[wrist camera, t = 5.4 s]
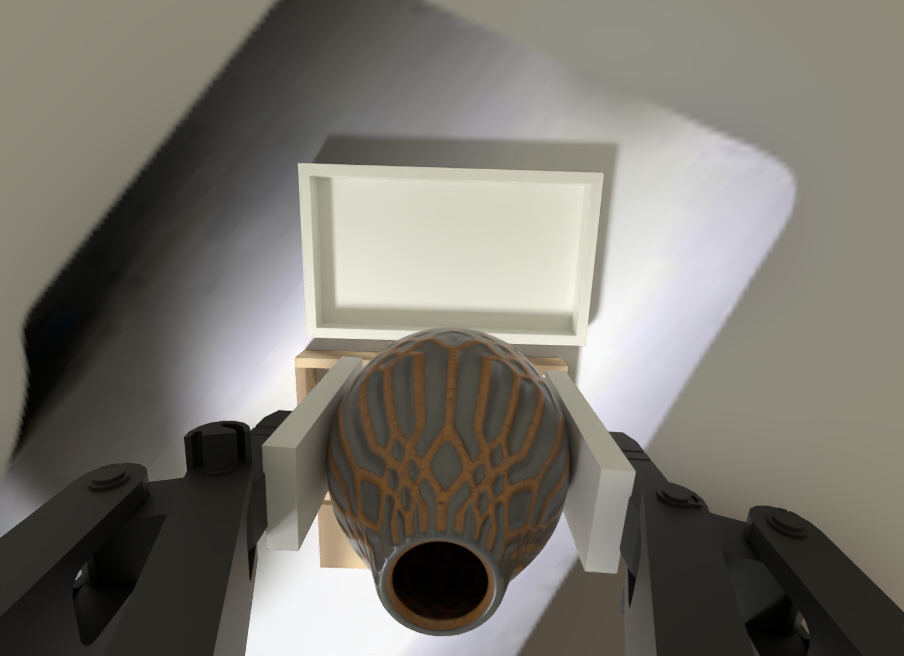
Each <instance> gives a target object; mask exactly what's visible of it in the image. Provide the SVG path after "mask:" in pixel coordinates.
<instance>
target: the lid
mask: <svg viewBox="0 0 904 656" xmlns="http://www.w3.org/2000/svg"><path fill="white" fill-rule="evenodd" d="M318 525H319V546H320V566H321V567H327V568H359V569H369V568H368V567H367V566H366V565H365V563H364V562H363V561H362V560H361V558H360V557H359V556H358V555H357V553H356V552H355V551H354V549H353V548H352V547H351V545H350V544H349V542H348V541H347V539H346V538H345V536H344V534H343V532H342V530H341V528H340V526H339V524H338V521H337V519H336V517H335V514H334V511H333V507H332V504H331V500H324V501H323V503H322V505H321V507H320V509H319V511H318Z"/></svg>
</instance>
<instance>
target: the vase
mask: <svg viewBox="0 0 904 656" xmlns="http://www.w3.org/2000/svg"><path fill="white" fill-rule="evenodd" d="M569 475H570V447H569V439H568V433H567V428H566V424H565V420H564V417H563V414H562V412H561V409H560V407H559V404H558V402H557V400H556V398H555V396H554V394H553V392H552V390H551V388H550V387H549V385H548V384H547V382H546V380H545V379H544V377H543V376H542V375H541V373H540V372H539V371H538V370H537V369H536V367H535V366H534V365H533V364H532V363H531V362H530V361H529V360H528V359H527V358H526V357H525V356H524V355H523V354H522V353H521V352H519V351H518V350H517V349H515V348H514V347H513V346H511V345H510V344H508V343H506V342H504V341H503V340H501V339H498V338H496V337H494V336H492V335H489V334H487V333H484V332H481V331H477V330H473V329H468V328H460V327H441V328H433V329H428V330H423V331H420V332H416V333H413V334H410V335H408V336H405V337H403V338H401V339H399V340H397V341H395V342H394V343H392V344H390V345H389V346H387V347H386V348H384V349H383V350H382V351H381V352H379V353H378V354H377V355H376V356H375V357H374V358H373V359H371V360H370V361H369V362H368V363H367V364H366V365H365V367H364V368H363V369H362V370H361V371H360V373H359V374H358V375H357V376H356V377H355V379H354V380H353V382H352V383H351V385H350V386H349V388H348V389H347V391H346V393H345V395H344V396H343V398H342V400H341V402H340V404H339V407H338V409H337V412H336V415H335V418H334V421H333V424H332V428H331V432H330V438H329V445H328V454H327V479H328V489H329V494H330V499H331V504H332V507H333V511H334V514H335V517H336V519H337V521H338V524H339V526H340V528H341V530H342V532H343V534H344V536H345V538H346V539H347V541H348V542H349V544H350V545H351V547H352V548H353V549H354V551H355V552H356V553H357V555H358V556H359V557H360V558H361V560H362V561H363V562H364V563H365V565H366V566H367V567H368V568H369V569H370V570H371V572H372V575H373V579H374V583H375V587H376V591H377V594H378V596H379V599H380V601H381V603H382V605H383V606H384V608H385V609H386V610H387V612H388V613H389V614H390V615H391V616H392V617H393V618H394V619H395V620H396V621H398V622H399V623H400V624H402V625H403V626H405V627H407V628H409V629H411V630H413V631H416V632H419V633H422V634H426V635H432V636H453V635H458V634H462V633H466V632H468V631H471V630H473V629H475V628H477V627H479V626H480V625H482V624H483V623H485V622H486V621H487V620H488V619H489V618H490V617H491V616H492V615H493V614H494V613H495V611H496V610H497V608H498V607H499V605H500V603H501V601H502V599H503V597H504V595H505V592H506V589H507V587H508V584H509V582H510V581H511V580H513V579H514V578H515V577H516V576H517V575H518V574H519V573H520V572H522V571H523V570H524V569H525V568H526V567H527V566H528V565H529V564H530V563H531V562H532V561H533V560H534V559H535V558H536V556H537V555H538V554H539V553H540V552H541V550H542V549H543V548H544V546H545V545H546V543H547V542H548V540H549V539H550V537H551V536H552V534H553V532H554V530H555V528H556V526H557V524H558V521H559V519H560V516H561V514H562V511H563V508H564V504H565V500H566V496H567V491H568V484H569Z"/></svg>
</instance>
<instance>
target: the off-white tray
mask: <svg viewBox="0 0 904 656" xmlns="http://www.w3.org/2000/svg"><path fill="white" fill-rule="evenodd" d="M298 174H299V194H300V214H301V234H302V254H303V274H304V294H305V313H306V333H307V337H313V338H345V339H377V340H399V339H401V338H403V337H405V336H408V335H410V334H413V333H416V332H420V331H423V330H428V329H433V328H441V327H460V328H468V329H473V330H477V331H481V332H484V333H487V334H489V335H492V336H494V337H496V338H498V339H501V340H503V341H504V342H506V343H508V344H537V345H569V346H586V337H587V328H588V318H589V309H590V300H591V290H592V281H593V272H594V262H595V253H596V244H597V234H598V225H599V216H600V206H601V197H602V188H603V178H604V173H594V172H562V171H531V170H499V169H467V168H435V167H403V166H372V165H340V164H308V163H298Z"/></svg>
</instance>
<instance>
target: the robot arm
mask: <svg viewBox="0 0 904 656" xmlns="http://www.w3.org/2000/svg"><path fill="white" fill-rule="evenodd" d="M361 370H362V357H347V356H342V357H341V358H340V359H339V360H338V361H337V363H336V364H335V365H334V366H333V367H332V368H331V369H330V370H329V371H328V373H327V374H326V375H325V376H324V377H323V378H322V379H321V380H320V381H319V383H318V384H317V385H316V386H315V387H314V388H313V389H312V390H311V391H310V393H309V394H308V395H307V396H306V397H305V398H304V399H303V400H302V401H301V403H300V404H299V405H298V406H297V407H296V408H295V409H294V410H293V411H284V410H278V411H276V412H274V413H272V414H270V415H268V416H266V417H264V418H263V419H262V420H261V421H260V422H259V423H258V424H257V425H256V428H253V429H252V430H251V431H250V427H249V426H248V425H247V424H245V423H243V422H238V421H219V422H213V423H208V424H205V425H202V426H199V427H197V428H195V429H193V430H191V431H189V432H188V433H187V434H186V436H185V437H184V444H185V454H186V464H187V472H186V475H185V477H184V478H178V479H171V480H162V481H153V482H148V476H147V469H146V468H145V467H144V466H142V465H140V464H133V463H124V464H119V463H117V464H111V465H110V466H108V465H107V466H103V467H100V468H99V469H97V470H94V471H91V472H89V473H87V474H85V475H83V476H82V477H80V478H78V479H77V480H75V481H74V482H72V483H71V484H70V485H69V486H67V487H66V488H65V489H63V490H62V491H61V492H59V493H58V494H57V495H55V496H54V497H53V498H52V499H50V500H49V501H48V502H46V503H45V504H44V505H42V506H41V507H40V508H39V509H37V510H36V511H35V512H33V513H32V514H31V515H29V516H28V517H27V518H26V519H24V520H23V521H22V522H20V523H19V524H18V525H16V526H15V527H14V528H13V529H11V530H10V531H9V532H7V533H6V534H5V535H3V536H2V537H1V538H0V656H245V651H246V643H247V636H248V628H249V621H250V613H251V606H252V598H253V590H254V583H255V575H256V568H257V560H258V555H257V542H258V540H259V539H260V537H261V536H262V534H263V532H264V531H265V529H266V539H267V549H279V550H293V551H299V549H300V547H301V545H302V543H303V541H304V539H305V537H306V535H307V533H308V531H309V529H310V527H311V525H312V523H313V521H314V519H315V517H316V515H317V513H318V511H319V509H320V507H321V505H322V503H323V501H324V499H325V497H326V495H327V493H328V491H329V489H328V479H327V454H328V445H329V438H330V432H331V428H332V424H333V421H334V418H335V415H336V412H337V409H338V407H339V404H340V402H341V400H342V398H343V396H344V395H345V393H346V391H347V389H348V388H349V386H350V385H351V383H352V382H353V380H354V379H355V377H356V376H357V375H358V374H359V373H360V371H361ZM545 380H546V382H547V384H548V385H549V387H550V388H551V390H552V392H553V394H554V396H555V398H556V400H557V402H558V404H559V407H560V409H561V412H562V414H563V417H564V420H565V424H566V428H567V433H568V439H569V447H570V475H569V484H568V491H567V496H566V500H565V504H564V508H563V511H564V513H565V516H566V519H567V522H568V525H569V528H570V531H571V533H572V536H573V539H574V542H575V545H576V548H577V551H578V553H579V556H580V559H581V562H582V565H583V568H584V570H585V571H589V572H603V573H617V569H618V563H619V558H620V553H621V554H622V556H623V558H624V560H625V562H626V564H627V566H628V569H627V574H626V580H625V585H624V590H623V595H622V600H621V605H620V610H619V611H620V612H622V613H625V656H904V612H903V611H902V610H901V609H900V608H899V607H898V606H897V605H896V604H895V603H894V602H893V601H892V600H891V599H890V598H889V597H888V596H887V595H886V594H885V593H884V592H883V591H882V590H881V589H880V588H879V587H878V586H877V585H876V584H875V583H874V582H873V581H872V580H871V579H869V577H867V576H866V574H864V573H863V572H862V571H861V570H860V569H859V568H858V567H857V566H856V565H855V564H854V563H853V562H852V561H851V560H850V559H849V558H848V557H847V556H846V555H845V554H844V553H843V552H842V551H841V550H840V549H839V548H838V547H837V546H836V545H835V544H834V543H833V542H832V541H831V540H830V539H829V538H828V537H827V536H826V535H825V534H824V533H822V531H821V530H819V529H818V528H817V527H816V526H814V525H813V524H812V523H810V522H809V521H807V520H805V519H803V518H802V517H800V516H799V515H797V514H795V513H793V512H790V511H789V512H788V511H787V510H785V509H782V508H775V507H771V506H755V507H753V508H750V511H749V514H748V518H747V522H743V521H739V520H735V519H731V518H727V517H723V516H720V515H716V514H713V513H710V512H709V509H708V506H707V505H706V503H705V502H704V500H703V499H702V498H701V497H699V496H698V495H697V494H696V493H694V492H692V491H691V490H689V489H687V488H685V487H683V486H680V485H677V484H674V483H670V482H668V481H667V479H666V478H665V477H664V476H663V474H662V473H661V472H660V471H659V469H658V468H657V467H656V465H655V464H654V463H653V462H652V461H651V459H650V458H649V457H648V455H647V454H646V453H644V450H643V449H642V448H641V447H640V445H639V444H638V443H637V442H636V441H635V440H633V439H632V438H630V437H629V436H627V435H626V434H624V433H623V432H608V431H607V429H606V428H605V426H604V425H603V424H602V422H601V421H600V419H599V418H598V416H597V415H596V414H595V412H594V411H593V409H592V408H591V406H590V405H589V404H588V402H587V401H586V399H585V398H584V396H583V395H582V393H581V392H580V391H579V389H578V388H577V386H576V385H575V383H574V382H573V381H572V379H571V378H570V376H569V375H568V373H567V372H566V371H555V370H546V371H545ZM80 570H81V571H82V574H81V576H80V577H79V578H78V579H77V580H76V581H75V579H76V577H77V574H78V573H79V571H80ZM803 617H804V619H805V621H806V624H807V627H808V629H809V634H808V633H807V632H806V630H805V628H804V627H803V626H802V624H801V623H802V620H803Z"/></svg>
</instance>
